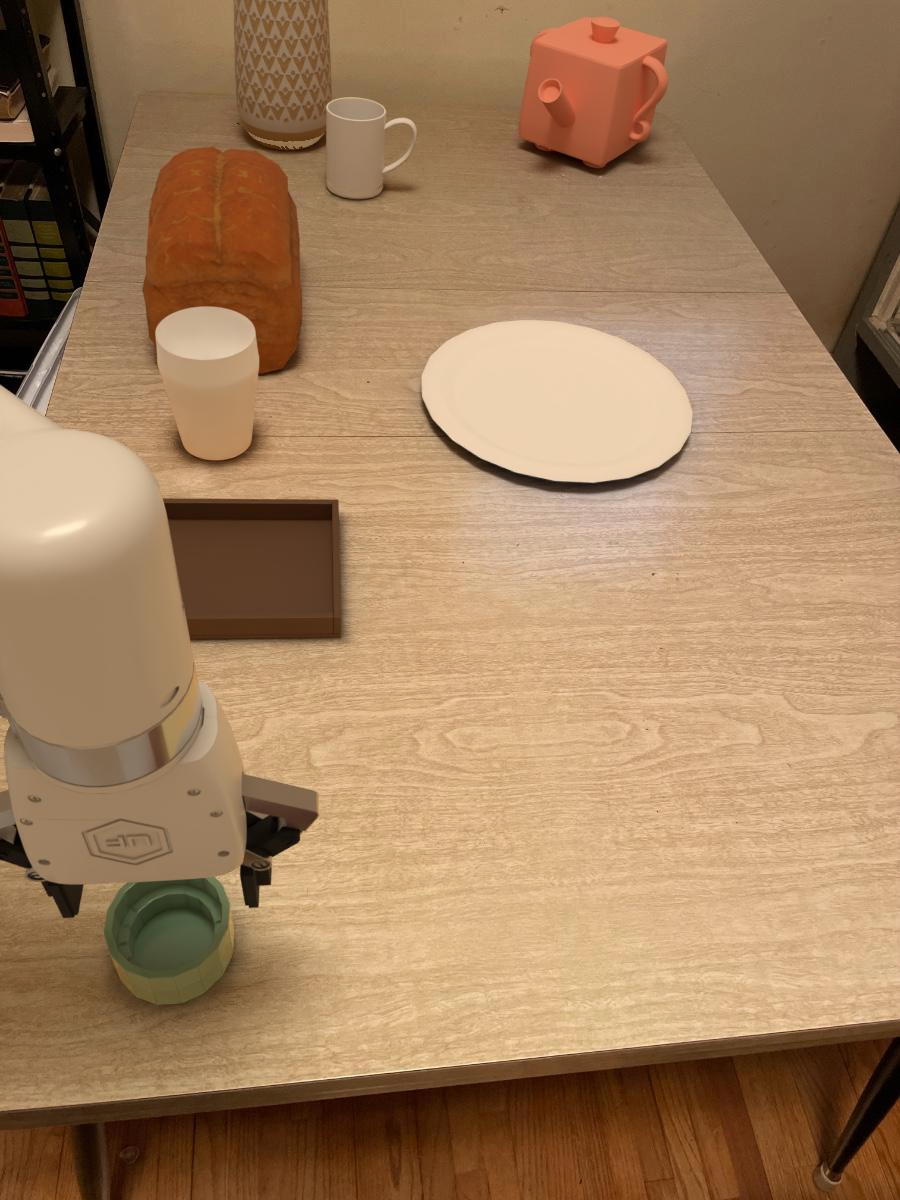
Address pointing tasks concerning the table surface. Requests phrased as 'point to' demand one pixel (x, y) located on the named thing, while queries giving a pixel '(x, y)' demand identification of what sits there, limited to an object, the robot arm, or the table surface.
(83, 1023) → the table surface
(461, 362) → the plate
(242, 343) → the cup
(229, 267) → the bread
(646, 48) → the teapot
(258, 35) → the vase
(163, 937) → the bowl
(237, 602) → the tray
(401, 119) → the mug
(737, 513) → the table surface
